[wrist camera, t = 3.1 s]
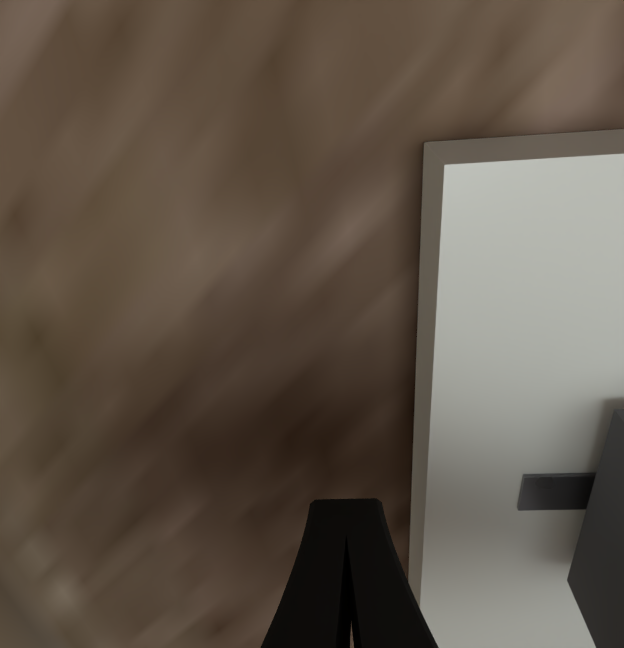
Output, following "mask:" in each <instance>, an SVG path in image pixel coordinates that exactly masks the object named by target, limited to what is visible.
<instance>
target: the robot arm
mask: <svg viewBox="0 0 624 648" xmlns="http://www.w3.org/2000/svg"><path fill="white" fill-rule="evenodd" d="M351 623H352V632H353V641H354V648H439V647H438V645H437V643H436V641H435V639H434V637H433V635H432V633H431V631H430V629H429V627H428V625H427V623H426V621H425V619H424V617H423V614H422V612H421V610H420V608H419V606H418V603H417V601H416V599H415V597H414V594H413V592H412V590H411V587H410V585H409V583H408V581H407V578H406V576H405V573H404V571H403V569H402V566H401V564H400V561H399V558H398V556H397V553H396V550H395V547H394V545H393V542H392V539H391V536H390V533H389V530H388V526H387V523H386V519H385V515H384V511H383V506H382V502H380V501H379V500H378V499H376V498H371V499H323V500H314V501H313V502H312V503H311V504H310V508H309V513H308V518H307V523H306V527H305V531H304V534H303V538H302V541H301V545H300V548H299V551H298V554H297V557H296V560H295V564H294V566H293V569H292V572H291V575H290V577H289V580H288V583H287V585H286V588H285V591H284V593H283V596H282V599H281V601H280V604H279V606H278V609H277V611H276V614H275V616H274V618H273V621H272V623H271V625H270V628H269V630H268V632H267V634H266V637H265V639H264V641H263V644H262V646H261V648H350V632H351Z"/></svg>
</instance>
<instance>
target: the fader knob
mask: <svg viewBox="0 0 624 648" xmlns="http://www.w3.org/2000/svg"><path fill="white" fill-rule="evenodd" d="M567 582H568V584H569V586H570V589H571V591H572V593H573V596H574V598H575V600H576V603H577V605H578V607H579V609H580V612H581V614H582V616H583V619H584V621H585V623H586V626H587V628H588V630H589V633H590V635H591V637H592V639H593V642H594V644H595V646H596V648H624V409H614V412H613V415H612V419H611V422H610V426H609V430H608V433H607V437H606V441H605V444H604V448H603V451H602V455H601V459H600V462H599V466H598V469H597V473H596V477H595V480H594V484H593V487H592V491H591V495H590V498H589V502H588V505H587V509H586V513H585V516H584V520H583V523H582V527H581V531H580V534H579V538H578V541H577V545H576V549H575V552H574V556H573V560H572V563H571V567H570V570H569V574H568V578H567Z"/></svg>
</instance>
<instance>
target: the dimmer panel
mask: <svg viewBox="0 0 624 648" xmlns="http://www.w3.org/2000/svg"><path fill="white" fill-rule="evenodd" d="M614 409H624V129H615V130H600V131H585V132H570V133H555V134H539V135H524V136H509V137H494V138H479V139H464V140H448V141H433V142H424V154H423V182H422V210H421V238H420V266H419V293H418V321H417V349H416V377H415V405H414V433H413V461H412V489H411V517H410V545H409V573H408V583H409V585H410V587H411V590H412V592H413V594H414V597H415V599H416V601H417V603H418V606H419V608H420V610H421V612H422V614H423V617H424V619H425V621H426V623H427V625H428V627H429V629H430V631H431V633H432V635H433V637H434V639H435V641H436V643H437V645H438V647H439V648H596V646H595V644H594V642H593V639H592V637H591V635H590V633H589V630H588V628H587V626H586V623H585V621H584V619H583V616H582V614H581V612H580V609H579V607H578V605H577V603H576V600H575V598H574V596H573V593H572V591H571V589H570V586H569V584H568V582H567V578H568V574H569V570H570V567H571V563H572V560H573V556H574V552H575V549H576V545H577V541H578V538H579V534H580V531H581V527H582V523H583V520H584V516H585V513H586V509H587V505H588V502H589V498H590V495H591V491H592V487H593V484H594V480H595V477H596V473H597V469H598V466H599V462H600V459H601V455H602V451H603V448H604V444H605V441H606V437H607V433H608V430H609V426H610V422H611V419H612V415H613V412H614Z"/></svg>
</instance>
